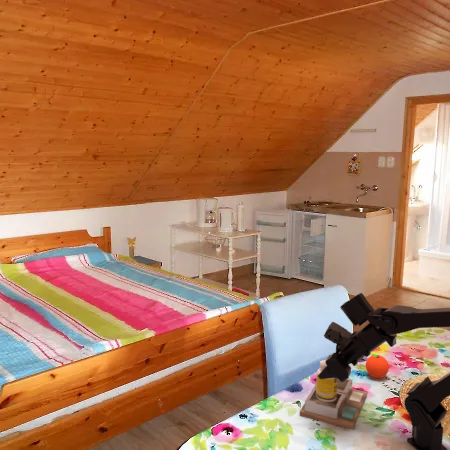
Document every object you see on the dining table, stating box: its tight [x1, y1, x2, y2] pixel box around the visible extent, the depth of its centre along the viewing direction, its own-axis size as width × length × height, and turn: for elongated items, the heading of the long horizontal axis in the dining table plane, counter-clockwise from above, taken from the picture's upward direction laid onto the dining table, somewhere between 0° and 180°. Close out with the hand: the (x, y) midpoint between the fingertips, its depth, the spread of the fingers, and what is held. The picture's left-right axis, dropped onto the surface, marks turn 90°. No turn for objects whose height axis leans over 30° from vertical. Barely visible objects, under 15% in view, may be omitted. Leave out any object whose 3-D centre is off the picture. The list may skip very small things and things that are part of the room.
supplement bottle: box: [315, 359, 337, 402], centre depth 126 cm, size 5×5×10 cm
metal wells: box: [304, 378, 353, 420], centre depth 131 cm, size 18×9×3 cm, turn 153°
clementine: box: [364, 353, 390, 379], centre depth 147 cm, size 8×7×7 cm
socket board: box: [299, 388, 368, 430], centre depth 131 cm, size 19×14×2 cm
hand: (322, 373), depth 126 cm, fingers closed on supplement bottle, 5 cm apart
